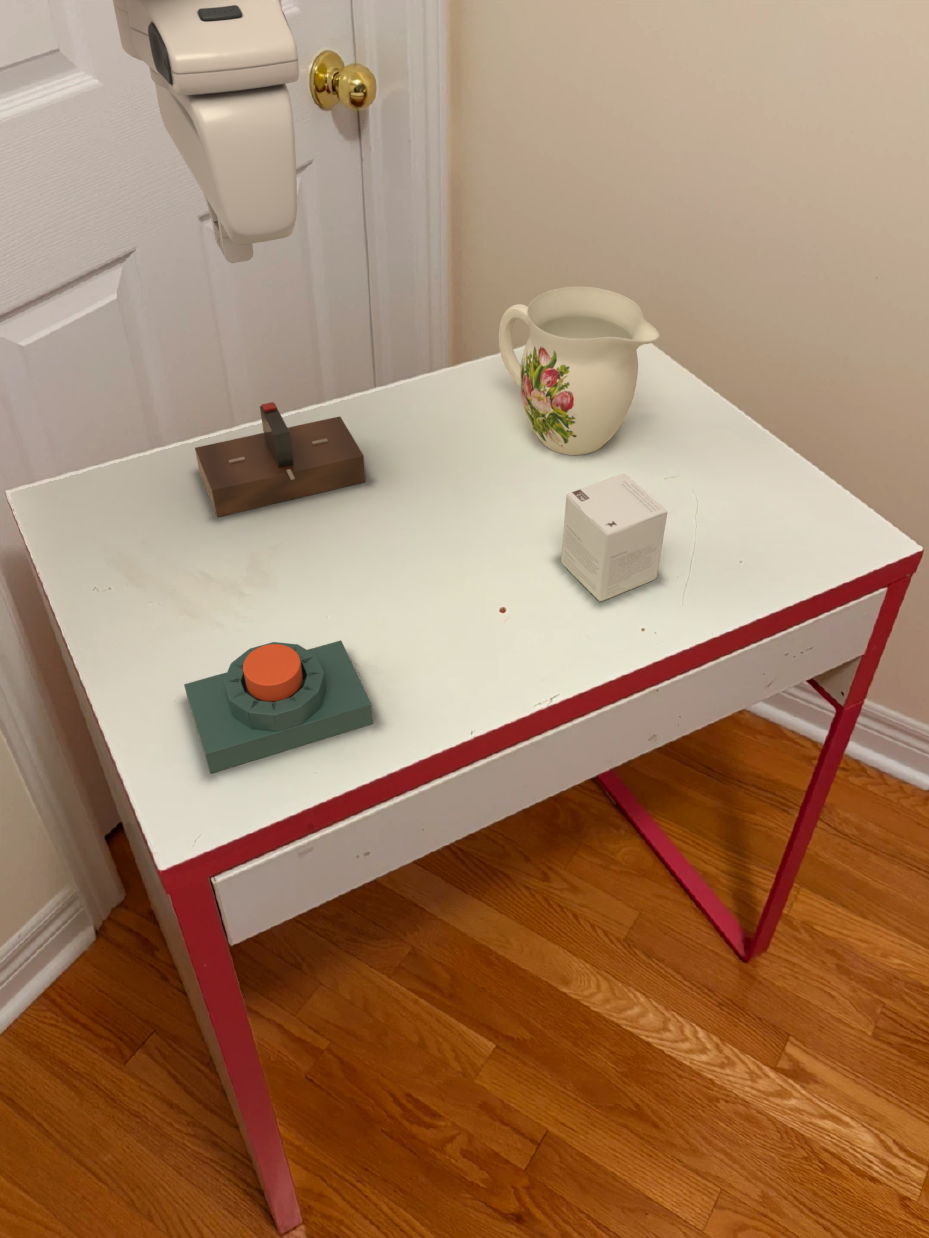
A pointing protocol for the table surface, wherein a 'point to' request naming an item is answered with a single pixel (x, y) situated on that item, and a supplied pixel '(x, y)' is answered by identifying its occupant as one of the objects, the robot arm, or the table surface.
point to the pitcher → (576, 364)
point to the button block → (277, 708)
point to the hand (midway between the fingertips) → (234, 252)
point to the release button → (272, 672)
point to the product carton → (612, 536)
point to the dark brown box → (276, 434)
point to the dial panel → (254, 479)
